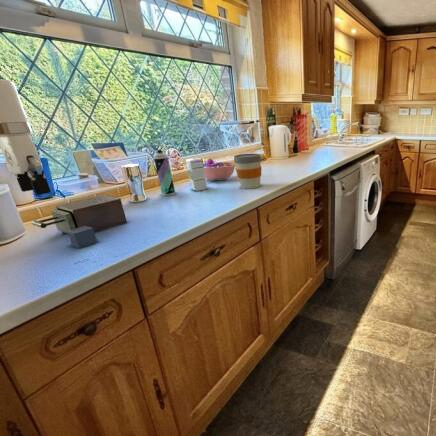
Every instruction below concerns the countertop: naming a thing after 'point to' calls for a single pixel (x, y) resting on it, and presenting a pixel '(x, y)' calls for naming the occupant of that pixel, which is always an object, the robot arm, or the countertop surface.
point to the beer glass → (134, 182)
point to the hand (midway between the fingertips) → (36, 192)
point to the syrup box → (196, 174)
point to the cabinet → (96, 212)
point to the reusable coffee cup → (248, 170)
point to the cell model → (218, 170)
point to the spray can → (164, 173)
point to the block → (82, 236)
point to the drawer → (59, 221)
